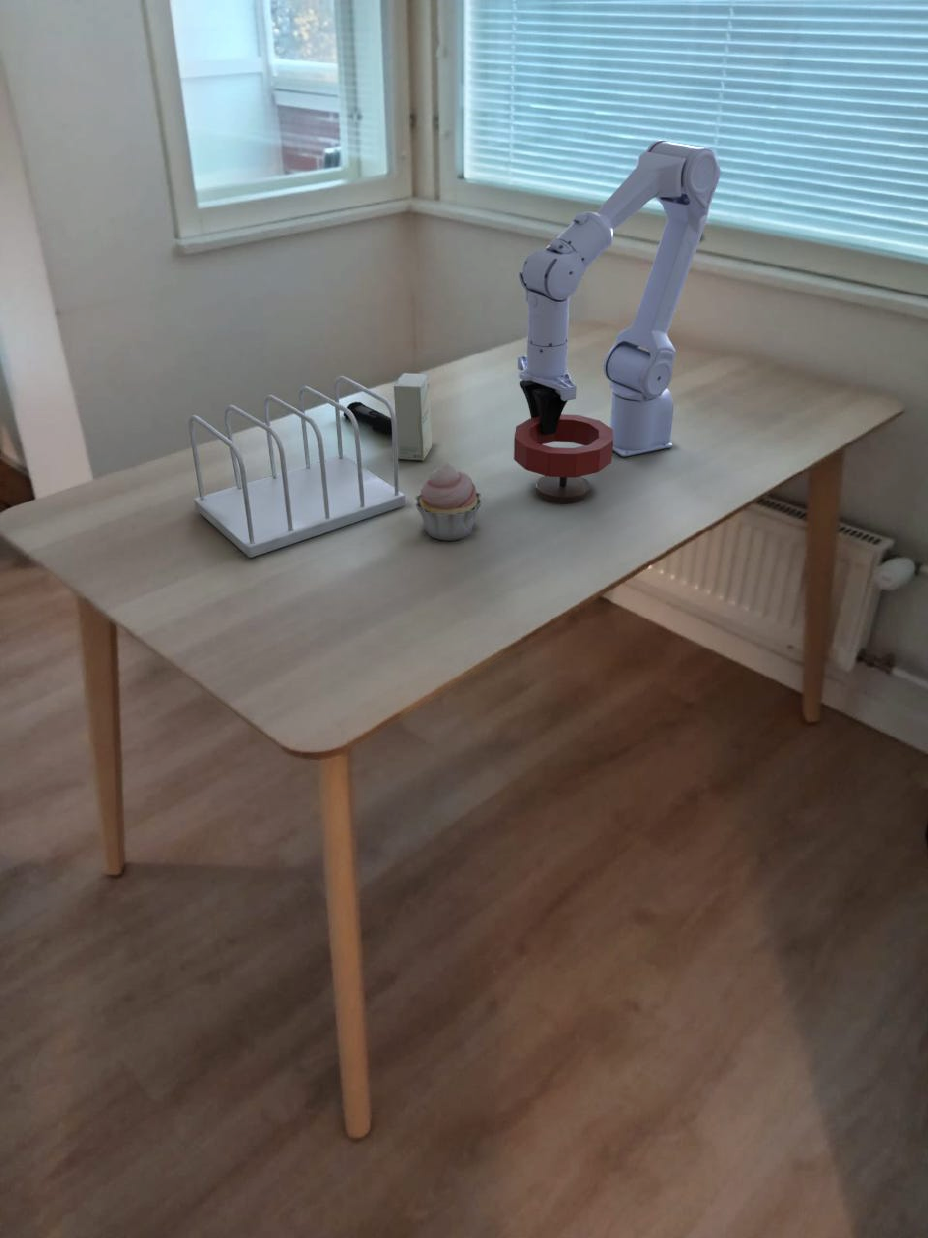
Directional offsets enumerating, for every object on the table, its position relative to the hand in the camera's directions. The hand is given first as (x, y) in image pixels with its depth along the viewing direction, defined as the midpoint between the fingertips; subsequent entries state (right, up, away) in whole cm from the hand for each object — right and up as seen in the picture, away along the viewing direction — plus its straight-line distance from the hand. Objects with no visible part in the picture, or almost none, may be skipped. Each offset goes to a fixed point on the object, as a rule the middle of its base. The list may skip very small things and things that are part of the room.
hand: (544, 430), depth 142 cm
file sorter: (-36, -12, -5) cm, 38 cm away
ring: (+2, -4, -4) cm, 6 cm away
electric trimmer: (-27, +4, +19) cm, 33 cm away
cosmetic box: (-20, -2, +11) cm, 23 cm away
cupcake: (-14, -16, -10) cm, 24 cm away
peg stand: (+3, -9, -1) cm, 10 cm away
